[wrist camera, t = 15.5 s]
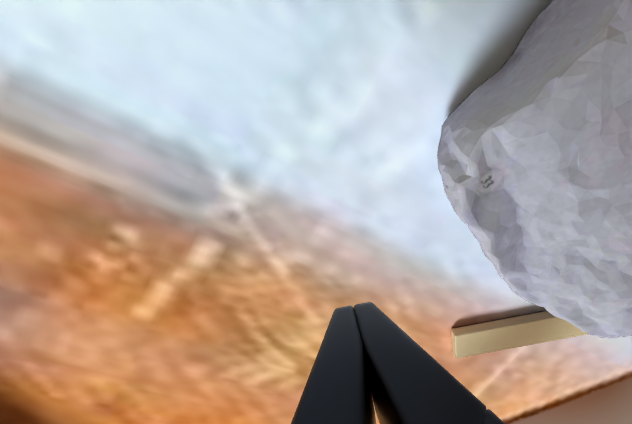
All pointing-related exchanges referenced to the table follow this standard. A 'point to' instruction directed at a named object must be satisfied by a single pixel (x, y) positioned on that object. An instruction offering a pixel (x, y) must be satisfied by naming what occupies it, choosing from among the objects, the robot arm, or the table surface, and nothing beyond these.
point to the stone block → (554, 165)
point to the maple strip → (510, 333)
